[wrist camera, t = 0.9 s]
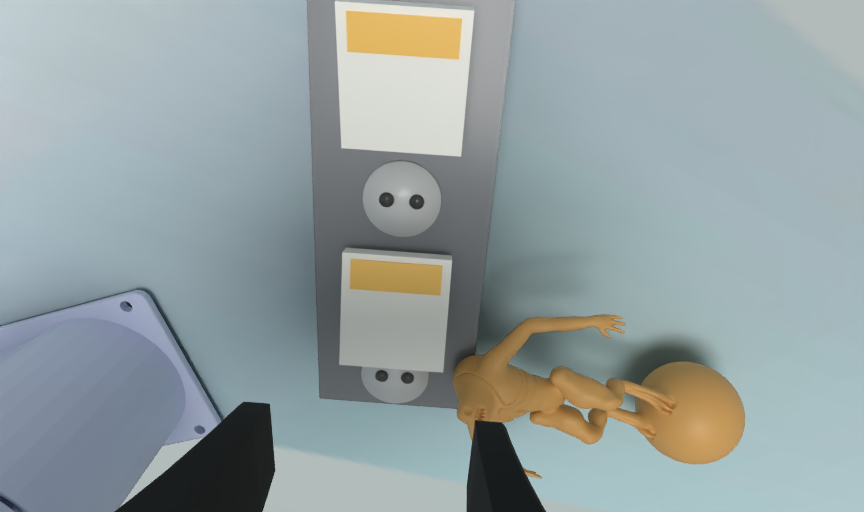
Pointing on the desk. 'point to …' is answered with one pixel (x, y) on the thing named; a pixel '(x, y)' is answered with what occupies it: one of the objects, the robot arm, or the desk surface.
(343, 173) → the power strip
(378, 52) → the near rocker
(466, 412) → the figurine
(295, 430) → the desk surface
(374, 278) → the far rocker
